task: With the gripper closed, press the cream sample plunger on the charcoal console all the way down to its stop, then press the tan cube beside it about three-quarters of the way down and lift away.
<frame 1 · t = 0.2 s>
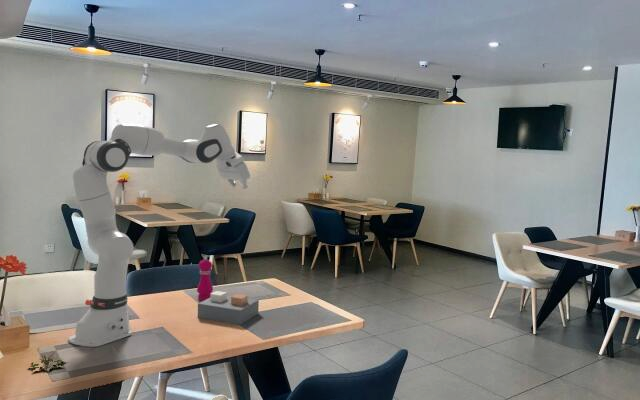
hand: (239, 187, 225), 54 cm above the table, tool tilted 30°, fingers open, 8 cm apart
button console: (228, 315, 218), on the table
pepper mill: (204, 299, 240), on the table
tan cube: (239, 302, 215), point 7 cm above the table, slide at 0.0 cm
green leafy plant: (47, 368, 163), on the table
cream plunger: (218, 298, 219), point 7 cm above the table, slide at 0.0 cm
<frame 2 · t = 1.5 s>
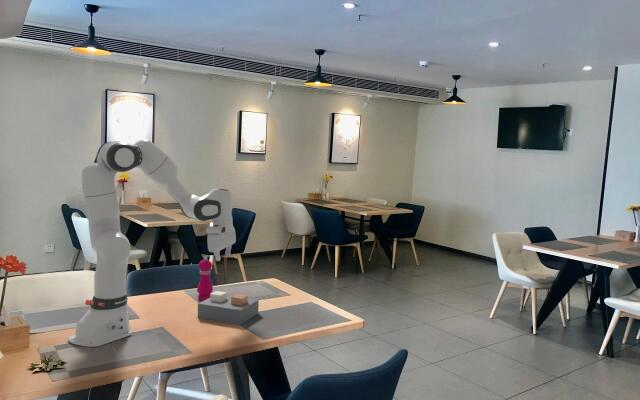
hand: (223, 258, 219), 24 cm above the table, tool pointing down, fingers open, 8 cm apart
nothing on the table moved.
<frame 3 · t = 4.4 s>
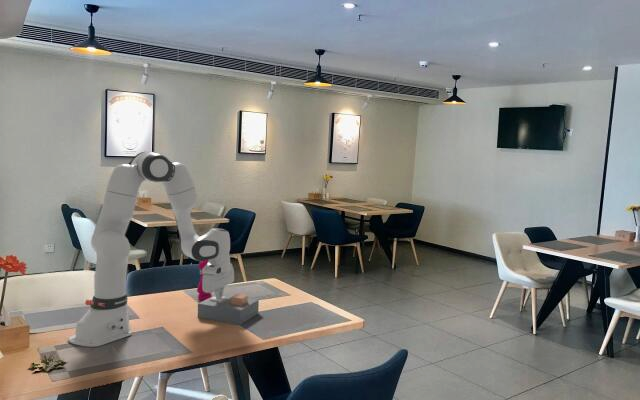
hand: (219, 297, 219), 7 cm above the table, tool pointing down, fingers closed, pressing on cream plunger
cream plunger: (218, 303, 219), point 4 cm above the table, slide at 2.1 cm, touching gripper
everything else where it was.
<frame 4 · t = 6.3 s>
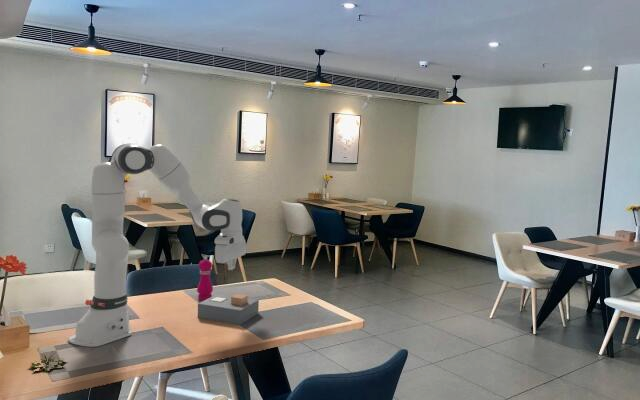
hand: (231, 269, 216), 20 cm above the table, tool pointing down, fingers closed
cream plunger: (218, 305, 219), point 4 cm above the table, slide at 2.7 cm
everything else where it was.
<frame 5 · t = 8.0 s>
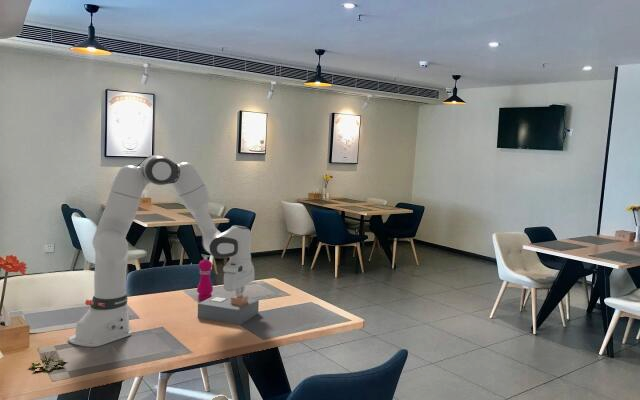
hand: (239, 296, 215), 9 cm above the table, tool pointing down, fingers closed, pressing on tan cube
tan cube: (239, 302, 215), point 6 cm above the table, slide at 0.2 cm, touching gripper
everything else where it was.
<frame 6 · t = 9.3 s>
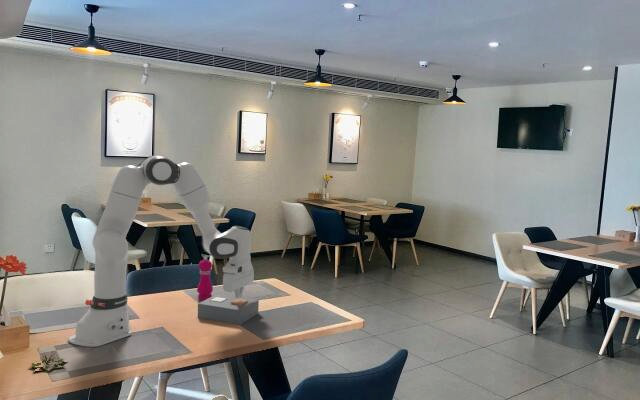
hand: (238, 297, 215), 9 cm above the table, tool pointing down, fingers closed
tan cube: (239, 306, 215), point 5 cm above the table, slide at 2.0 cm
everything else where it was.
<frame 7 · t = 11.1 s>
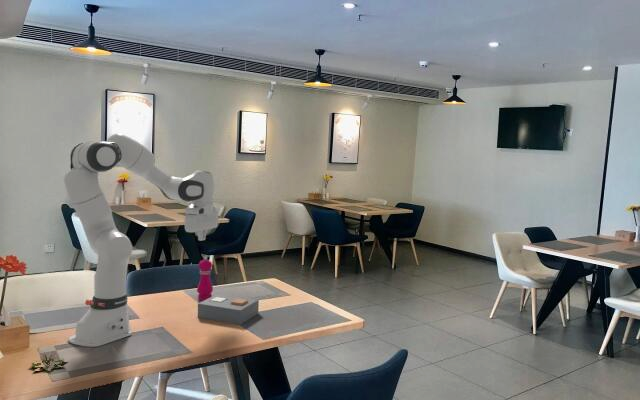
hand: (201, 240, 221), 31 cm above the table, tool pointing down, fingers closed
nothing on the table moved.
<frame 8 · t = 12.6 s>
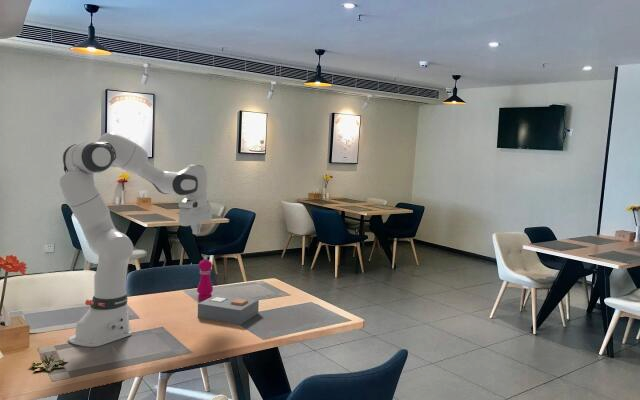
hand: (196, 233, 222), 33 cm above the table, tool pointing down, fingers closed
nothing on the table moved.
at the end: cream plunger slide at 2.7 cm; tan cube slide at 2.0 cm; pepper mill moved 0.2 cm from its start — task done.
